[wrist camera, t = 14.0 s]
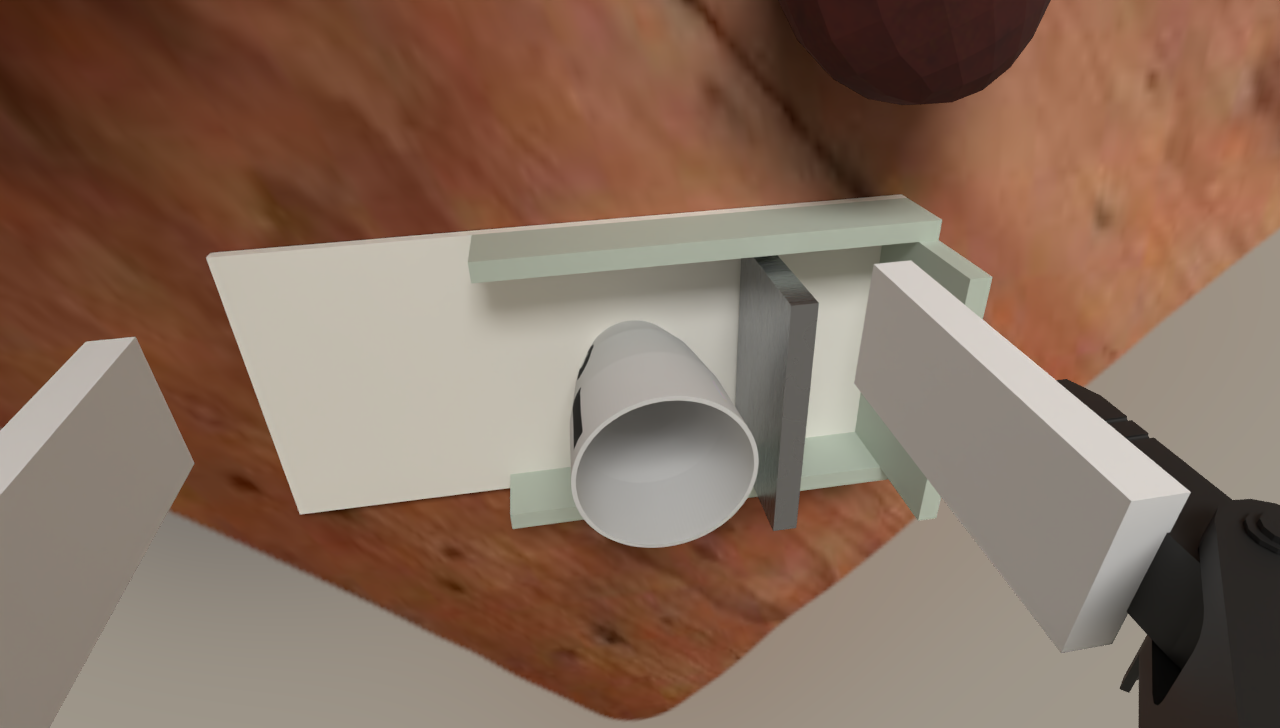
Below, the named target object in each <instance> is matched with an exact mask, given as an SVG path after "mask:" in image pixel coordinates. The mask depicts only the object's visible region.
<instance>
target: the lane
mask: <svg viewBox="0 0 1280 728" xmlns="http://www.w3.org/2000/svg"><path fill="white" fill-rule="evenodd" d="M941 223H942V219H940V218H938V217H937V216H935V215H934V214H932V213H930V212H929V211H927V210H926V209H924V208H922V207H921V206H919V205H918V204H916V203H915V202H913V201H911V200H910V199H908V198H907V197H905V196H903V195H902V194H900V195H888V196H876V197H864V198H853V199H841V200H829V201H817V202H805V203H794V204H782V205H770V206H758V207H746V208H734V209H723V210H711V211H699V212H687V213H675V214H664V215H652V216H640V217H628V218H616V219H605V220H593V221H581V222H569V223H557V224H546V225H534V226H522V227H510V228H498V229H486V230H475V231H463V232H451V233H439V234H427V235H416V236H404V237H392V238H380V239H368V240H357V241H345V242H333V243H321V244H309V245H298V246H286V247H274V248H262V249H250V250H238V251H227V252H215V253H210V254H209V255H208V256H207V257H206V259H207V262H208V265H209V267H210V270H211V273H212V275H213V278H214V281H215V284H216V286H217V289H218V292H219V295H220V297H221V300H222V303H223V306H224V308H225V311H226V314H227V316H228V319H229V322H230V325H231V327H232V330H233V333H234V336H235V338H236V341H237V344H238V346H239V349H240V352H241V355H242V357H243V360H244V363H245V366H246V368H247V371H248V374H249V377H250V379H251V382H252V385H253V387H254V390H255V393H256V396H257V398H258V401H259V404H260V407H261V409H262V412H263V415H264V417H265V420H266V423H267V426H268V428H269V431H270V434H271V437H272V439H273V442H274V445H275V448H276V450H277V453H278V456H279V458H280V461H281V464H282V467H283V469H284V472H285V475H286V478H287V480H288V483H289V486H290V489H291V491H292V494H293V497H294V499H295V502H296V505H297V508H298V510H299V513H300V514H308V513H316V512H324V511H332V510H340V509H348V508H355V507H363V506H371V505H379V504H387V503H395V502H403V501H411V500H419V499H427V498H435V497H443V496H451V495H459V494H467V493H475V492H482V491H490V490H498V489H506V488H510V516H511V522H512V528H513V529H516V528H524V527H531V526H539V525H547V524H554V523H562V522H569V521H577V520H584V519H583V517H582V516H581V514H580V513H579V511H578V509H577V507H576V505H575V502H574V499H573V495H572V490H571V459H570V417H571V411H572V405H573V398H574V392H575V386H576V380H577V375H578V372H579V369H580V367H581V365H582V363H583V361H584V359H585V357H586V355H587V352H588V350H589V348H590V346H591V344H592V343H593V341H594V340H595V339H596V338H597V336H598V335H599V334H601V333H602V332H603V331H604V330H606V329H607V328H609V327H611V326H613V325H615V324H618V323H621V322H625V321H632V320H639V321H646V322H650V323H653V324H655V325H657V326H659V327H661V328H662V329H664V330H666V331H667V332H669V333H670V334H672V335H674V336H675V337H677V338H679V339H680V340H682V341H683V342H684V343H685V344H686V345H687V346H688V347H689V348H690V349H691V350H692V351H693V352H694V353H695V354H696V355H697V357H698V358H699V359H700V360H701V361H702V362H703V363H704V364H705V365H706V366H707V368H708V369H709V370H710V371H711V372H712V373H713V374H714V375H715V376H716V378H717V379H718V380H719V382H720V383H721V385H722V387H723V388H724V390H725V391H726V393H727V395H728V396H729V398H730V399H731V401H732V403H733V404H734V406H735V403H736V378H737V352H738V327H739V301H740V276H741V258H751V257H762V256H772V255H778V256H779V257H780V259H781V260H782V261H783V262H784V263H785V264H786V266H787V267H788V268H789V269H790V270H791V271H792V272H793V274H794V275H795V276H796V277H797V278H798V279H799V281H800V282H801V283H802V284H803V285H804V286H805V287H806V289H807V290H808V291H809V292H810V293H811V294H812V296H813V297H814V298H815V299H816V300H817V301H818V302H819V308H818V318H817V327H816V337H815V347H814V357H813V367H812V377H811V386H810V396H809V406H808V416H807V426H806V436H805V445H804V455H803V465H802V475H801V485H800V491H803V490H811V489H818V488H826V487H833V486H841V485H848V484H856V483H863V482H871V481H879V480H886V479H889V480H890V482H891V483H892V485H893V486H894V487H895V489H896V490H897V492H898V493H899V494H900V496H901V497H902V499H903V500H904V502H905V503H906V504H907V506H908V507H909V509H910V510H911V511H912V513H913V514H914V516H915V517H916V518H917V520H918V521H920V520H927V519H934V518H936V517H937V513H938V509H939V504H940V500H941V496H940V495H939V494H938V492H937V491H936V490H935V488H934V487H933V486H932V484H931V483H930V482H929V480H928V479H927V478H926V477H925V475H924V474H923V473H922V471H921V470H920V469H919V467H918V466H917V465H916V464H915V462H914V461H913V460H912V458H911V457H910V456H909V454H908V453H907V452H906V451H905V449H904V448H903V447H902V445H901V444H900V443H899V441H898V440H897V439H896V437H895V436H894V435H893V434H892V432H891V431H890V430H889V428H888V427H887V426H886V424H885V423H884V422H883V421H882V419H881V418H880V417H879V415H878V414H877V413H876V411H875V410H874V409H873V407H872V406H871V405H870V404H869V402H868V401H867V400H866V398H865V397H864V396H863V394H862V393H861V392H860V391H859V389H858V388H857V387H856V385H855V384H854V381H855V375H856V369H857V363H858V356H859V350H860V344H861V338H862V332H863V326H864V320H865V314H866V308H867V302H868V295H869V289H870V283H871V277H872V271H873V265H874V264H879V263H889V262H899V261H910V260H911V261H912V262H914V263H915V264H916V265H917V266H918V267H920V268H921V269H922V270H923V271H925V272H926V273H927V274H928V275H929V276H931V277H932V278H933V279H934V280H935V281H937V282H938V283H939V284H940V285H941V286H943V287H944V288H945V289H946V290H947V291H949V292H950V293H951V294H952V295H953V296H955V297H956V298H957V299H958V300H960V301H961V302H962V303H963V304H964V305H966V306H967V307H968V308H969V309H970V310H972V311H973V312H974V313H975V314H976V315H978V316H979V317H980V318H981V319H982V320H983V316H984V311H985V307H986V303H987V299H988V294H989V290H990V286H991V281H992V276H990V275H989V274H987V273H986V272H984V271H983V270H982V269H980V268H979V267H977V266H976V265H974V264H973V263H971V262H970V261H968V260H967V259H965V258H964V257H962V256H961V255H960V254H958V253H957V252H955V251H954V250H952V249H951V248H949V247H948V246H946V245H945V244H943V243H942V242H941V241H939V234H940V229H941ZM750 497H758V496H757V494H756V491H755V489H754V487H753V488H752V490H751V492H750V494H749V496H748V498H750Z"/></svg>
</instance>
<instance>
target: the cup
mask: <svg viewBox="0 0 1280 728" xmlns="http://www.w3.org/2000/svg"><path fill="white" fill-rule="evenodd" d="M570 459H571V490H572V495H573V499H574V502H575V505H576V507H577V509H578V511H579V513H580V514H581V516H582V517H583V519H584V520H585V521H586V522H587V523H588V524H589V525H590V526H591V527H592V528H593V529H594V530H596V531H597V532H598V533H600V534H601V535H603V536H605V537H607V538H609V539H611V540H613V541H616V542H619V543H622V544H625V545H630V546H635V547H646V548H657V547H668V546H674V545H678V544H682V543H686V542H689V541H692V540H695V539H697V538H700V537H702V536H704V535H706V534H708V533H710V532H711V531H713V530H715V529H716V528H718V527H719V526H721V525H722V524H724V523H725V522H726V521H727V520H729V519H730V518H731V517H732V516H733V515H734V514H735V513H736V512H737V511H738V510H739V509H740V507H741V506H742V505H743V504H744V502H745V501H746V499H747V498H748V496H749V494H750V492H751V490H752V488H753V486H754V483H755V480H756V477H757V472H758V464H759V459H758V450H757V446H756V442H755V440H754V437H753V435H752V433H751V432H750V430H749V428H748V427H747V425H746V423H745V422H744V420H743V419H742V417H741V415H740V414H739V412H738V411H737V409H736V407H735V406H734V404H733V403H732V401H731V399H730V398H729V396H728V395H727V393H726V391H725V390H724V388H723V387H722V385H721V383H720V382H719V380H718V379H717V378H716V376H715V375H714V374H713V373H712V372H711V371H710V370H709V369H708V368H707V366H706V365H705V364H704V363H703V362H702V361H701V360H700V359H699V358H698V357H697V355H696V354H695V353H694V352H693V351H692V350H691V349H690V348H689V347H688V346H687V345H686V344H685V343H684V342H683V341H682V340H680V339H679V338H677V337H675V336H674V335H672V334H670V333H669V332H667V331H666V330H664V329H662V328H661V327H659V326H657V325H655V324H653V323H650V322H646V321H639V320H632V321H625V322H621V323H618V324H615V325H613V326H611V327H609V328H607V329H606V330H604V331H603V332H602V333H601V334H599V335H598V336H597V338H596V339H595V340H594V341H593V343H592V344H591V346H590V348H589V350H588V352H587V355H586V357H585V359H584V361H583V363H582V365H581V367H580V369H579V372H578V375H577V380H576V386H575V392H574V398H573V405H572V411H571V417H570Z"/></svg>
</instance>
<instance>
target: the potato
mask: <svg viewBox="0 0 1280 728" xmlns="http://www.w3.org/2000/svg"><path fill="white" fill-rule="evenodd" d="M778 1H779V3H780V5H781V7H782V9H783V11H784V14H785V16H786V18H787V20H788V22H789V24H790V26H791V28H792V30H793V32H794V34H795V36H796V38H797V40H798V41H799V42H800V43H801V44H802V45H803V47H804V48H805V49H806V50H807V51H808V52H809V53H810V54H811V55H812V56H813V58H814V59H815V60H816V61H817V62H818V63H819V64H820V65H821V66H822V68H823V69H824V70H825V71H826V72H827V73H828V74H829V75H830V76H831V77H832V78H833V79H834V80H836V81H838V82H840V83H841V84H843V85H845V86H847V87H848V88H850V89H852V90H853V91H855V92H857V93H859V94H860V95H862V96H864V97H866V98H867V99H872V100H877V101H883V102H888V103H893V104H899V105H916V104H932V103H946V102H953V101H956V100H958V99H961V98H964V97H966V96H969V95H971V94H974V93H976V92H979V91H981V90H983V89H984V88H986V87H987V86H988V85H989V84H991V83H992V82H993V81H994V80H995V79H997V78H998V77H999V76H1000V75H1001V74H1003V73H1004V72H1005V71H1006V70H1008V69H1009V68H1010V67H1011V66H1012V64H1013V63H1014V62H1015V60H1016V59H1017V58H1018V56H1019V55H1020V54H1021V52H1022V51H1023V50H1024V48H1025V47H1026V46H1027V44H1028V43H1029V42H1030V40H1031V39H1032V38H1033V36H1034V34H1035V32H1036V30H1037V27H1038V25H1039V23H1040V21H1041V19H1042V17H1043V15H1044V13H1045V11H1046V9H1047V7H1048V5H1049V3H1050V1H1051V0H778Z"/></svg>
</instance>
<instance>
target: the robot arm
mask: <svg viewBox="0 0 1280 728" xmlns="http://www.w3.org/2000/svg"><path fill="white" fill-rule="evenodd" d="M854 384H855V385H856V387H857V388H858V389H859V391H860V392H861V393H862V394H863V396H864V397H865V398H866V400H867V401H868V402H869V404H870V405H871V406H872V407H873V409H874V410H875V411H876V413H877V414H878V415H879V417H880V418H881V419H882V421H883V422H884V423H885V424H886V426H887V427H888V428H889V430H890V431H891V432H892V434H893V435H894V436H895V437H896V439H897V440H898V441H899V443H900V444H901V445H902V447H903V448H904V449H905V451H906V452H907V453H908V454H909V456H910V457H911V458H912V460H913V461H914V462H915V464H916V465H917V466H918V467H919V469H920V470H921V471H922V473H923V474H924V475H925V477H926V478H927V479H928V480H929V482H930V483H931V484H932V486H933V487H934V488H935V490H936V491H937V492H938V494H939V495H940V496H941V497H942V499H943V500H944V501H945V503H946V504H947V505H948V506H949V508H950V509H951V510H952V512H953V513H954V514H955V516H956V517H957V518H958V520H959V521H960V522H961V524H963V526H964V527H965V529H966V530H967V531H968V533H969V534H970V535H971V536H972V538H973V539H974V540H975V542H976V543H977V544H978V546H979V547H980V548H981V550H982V551H983V552H984V553H985V554H986V556H987V557H988V559H989V560H990V561H991V562H992V564H993V565H994V567H995V568H996V569H997V570H998V572H999V573H1000V574H1001V575H1002V577H1003V578H1004V579H1005V581H1006V582H1007V583H1008V585H1009V586H1010V587H1011V588H1012V590H1013V591H1014V593H1015V594H1016V595H1017V596H1018V598H1019V599H1020V600H1021V602H1022V603H1023V604H1024V606H1025V607H1026V608H1027V610H1028V611H1029V612H1030V613H1031V615H1032V616H1033V617H1034V619H1035V620H1036V621H1037V622H1038V624H1039V625H1040V626H1041V628H1042V629H1043V630H1044V632H1045V633H1046V634H1047V636H1048V637H1049V638H1050V640H1051V641H1052V642H1053V643H1054V645H1055V646H1056V647H1057V649H1058V650H1059V651H1060V652H1061V653H1065V652H1070V651H1075V650H1081V649H1087V648H1092V647H1097V646H1104V645H1109V644H1112V643H1113V641H1114V639H1115V637H1116V636H1117V634H1118V632H1119V630H1120V628H1121V625H1122V624H1123V622H1124V620H1125V618H1126V616H1127V614H1129V615H1130V616H1131V617H1132V618H1133V619H1134V620H1135V621H1136V622H1137V624H1138V625H1139V626H1140V627H1141V628H1142V629H1143V630H1144V631H1145V632H1146V633H1147V636H1146V638H1145V640H1144V642H1143V643H1142V645H1141V647H1140V649H1139V651H1138V652H1137V655H1136V656H1135V658H1134V660H1133V662H1132V663H1131V665H1130V667H1129V669H1128V670H1127V672H1126V674H1125V676H1124V678H1123V681H1122V684H1121V686H1120V689H1121V690H1124V691H1126V692H1129V691H1130V690H1131V688H1132V687H1133V685H1134V683H1135V681H1136V680H1138V679H1139V728H1280V505H1278V504H1275V503H1270V502H1264V501H1258V500H1253V499H1244V500H1232V499H1230V498H1229V497H1228V496H1226V494H1224V493H1223V492H1222V491H1220V490H1219V489H1218V488H1217V487H1215V486H1214V485H1213V484H1211V483H1210V482H1209V481H1208V480H1207V479H1205V478H1204V477H1203V476H1202V475H1200V474H1199V473H1198V472H1196V471H1195V470H1194V469H1193V468H1191V467H1190V466H1189V465H1188V464H1186V463H1185V462H1184V461H1183V460H1181V459H1180V458H1179V457H1178V456H1176V455H1175V454H1174V453H1173V452H1171V451H1170V450H1169V449H1167V448H1166V447H1165V446H1164V445H1162V444H1161V443H1160V442H1159V441H1157V440H1156V439H1155V438H1149V437H1148V433H1147V432H1146V431H1145V430H1143V429H1142V428H1141V427H1140V426H1138V425H1137V424H1136V423H1135V422H1133V421H1132V420H1131V421H1128V420H1127V416H1126V415H1125V414H1123V413H1122V412H1121V411H1120V410H1118V409H1117V408H1116V407H1114V406H1113V405H1112V404H1111V403H1109V402H1108V401H1107V400H1106V399H1104V398H1103V397H1102V396H1100V395H1098V394H1096V393H1094V392H1092V391H1090V390H1088V389H1086V388H1084V387H1082V386H1080V385H1078V384H1076V383H1074V382H1071V381H1069V380H1067V379H1063V380H1055V379H1054V378H1052V377H1051V376H1050V375H1049V374H1048V373H1046V372H1045V371H1044V370H1043V369H1042V368H1040V367H1039V366H1038V365H1037V364H1036V363H1034V362H1033V361H1032V360H1031V359H1029V358H1028V357H1027V356H1026V355H1025V354H1023V353H1022V352H1021V351H1020V350H1019V349H1017V348H1016V347H1015V346H1014V345H1013V344H1011V343H1010V342H1009V341H1008V340H1007V339H1005V338H1004V337H1003V336H1002V335H1001V334H999V333H998V332H997V331H996V330H995V329H993V328H992V327H991V326H990V325H988V324H987V323H986V322H985V321H984V320H982V319H981V318H980V317H979V316H978V315H976V314H975V313H974V312H973V311H972V310H970V309H969V308H968V307H967V306H966V305H964V304H963V303H962V302H961V301H960V300H958V299H957V298H956V297H955V296H953V295H952V294H951V293H950V292H949V291H947V290H946V289H945V288H944V287H943V286H941V285H940V284H939V283H938V282H937V281H935V280H934V279H933V278H932V277H931V276H929V275H928V274H927V273H926V272H925V271H923V270H922V269H921V268H920V267H918V266H917V265H916V264H915V263H914V262H912V261H911V260H910V261H899V262H889V263H879V264H874V265H873V271H872V277H871V283H870V289H869V295H868V302H867V308H866V314H865V320H864V326H863V332H862V338H861V344H860V350H859V356H858V363H857V369H856V375H855V381H854ZM193 465H194V461H193V459H192V457H191V455H190V453H189V450H188V448H187V446H186V444H185V442H184V440H183V438H182V435H181V433H180V431H179V429H178V427H177V425H176V423H175V420H174V418H173V416H172V414H171V412H170V410H169V408H168V405H167V403H166V401H165V399H164V397H163V395H162V393H161V390H160V388H159V386H158V384H157V382H156V380H155V377H154V375H153V373H152V371H151V369H150V367H149V365H148V362H147V360H146V358H145V356H144V354H143V352H142V350H141V347H140V345H139V343H138V341H137V339H136V337H128V338H118V339H108V340H98V341H88V342H85V343H84V344H83V345H82V346H81V347H80V348H79V349H78V350H77V351H76V353H75V354H74V355H73V356H72V357H71V358H70V359H69V360H68V361H67V362H66V363H65V364H64V365H63V366H62V367H61V368H60V369H59V370H58V371H57V372H56V373H55V374H54V375H53V376H52V377H51V379H50V380H49V381H48V382H47V383H46V384H45V385H44V386H43V387H42V388H41V389H40V390H39V391H38V392H37V393H36V394H35V395H34V396H33V397H32V398H31V399H30V400H29V401H28V402H27V403H26V405H25V406H24V407H23V408H22V409H21V410H20V411H19V412H18V413H17V414H16V415H15V416H14V417H13V418H12V419H11V420H10V421H9V422H8V423H7V424H6V425H5V426H4V427H3V428H2V429H1V431H0V728H49V727H50V726H51V724H52V722H53V720H54V718H55V716H56V715H57V713H58V711H59V709H60V707H61V706H62V704H63V702H64V700H65V698H66V696H67V695H68V693H69V691H70V689H71V687H72V685H73V684H74V682H75V680H76V678H77V676H78V674H79V673H80V671H81V669H82V667H83V666H84V664H85V662H86V660H87V658H88V656H89V655H90V653H91V651H92V649H93V647H94V646H95V644H96V642H97V640H98V638H99V636H100V634H101V633H102V631H103V629H104V627H105V625H106V624H107V622H108V620H109V618H110V616H111V615H112V613H113V611H114V609H115V607H116V605H117V604H118V602H119V600H120V598H121V596H122V594H123V593H124V591H125V589H126V587H127V585H128V584H129V582H130V580H131V578H132V576H133V574H134V572H135V571H136V569H137V567H138V565H139V563H140V562H141V560H142V558H143V556H144V554H145V553H146V551H147V549H148V547H149V545H150V543H151V542H152V540H153V538H154V536H155V534H156V533H157V531H158V529H159V527H160V525H161V523H162V522H163V520H164V518H165V516H166V514H167V513H168V511H169V509H170V507H171V505H172V503H173V502H174V500H175V498H176V496H177V494H178V493H179V491H180V489H181V487H182V485H183V483H184V482H185V480H186V478H187V476H188V474H189V473H190V471H191V469H192V467H193Z"/></svg>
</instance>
